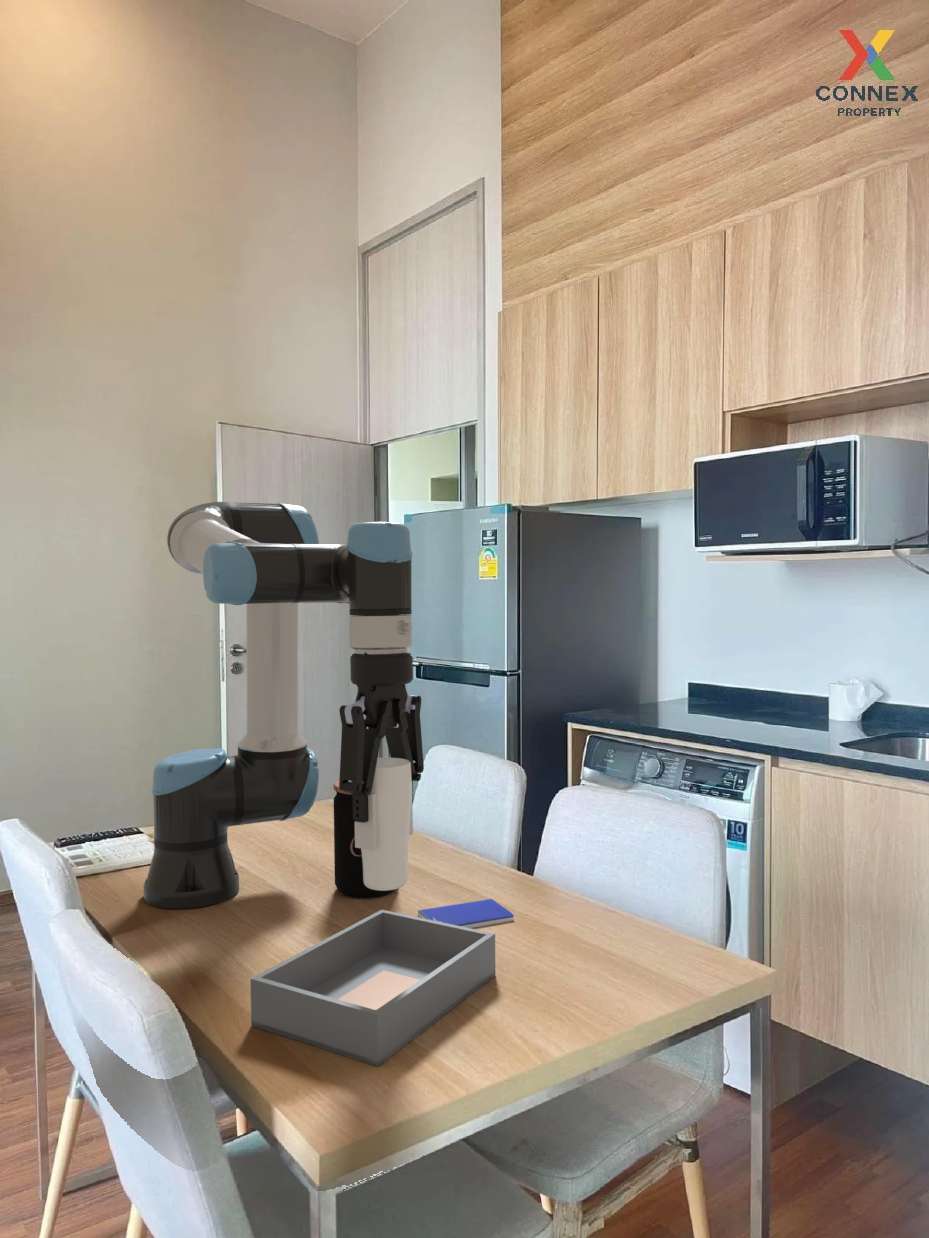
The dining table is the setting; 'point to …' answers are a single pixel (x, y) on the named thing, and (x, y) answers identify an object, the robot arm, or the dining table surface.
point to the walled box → (373, 984)
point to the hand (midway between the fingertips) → (384, 840)
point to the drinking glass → (390, 826)
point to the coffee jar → (348, 850)
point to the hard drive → (469, 914)
